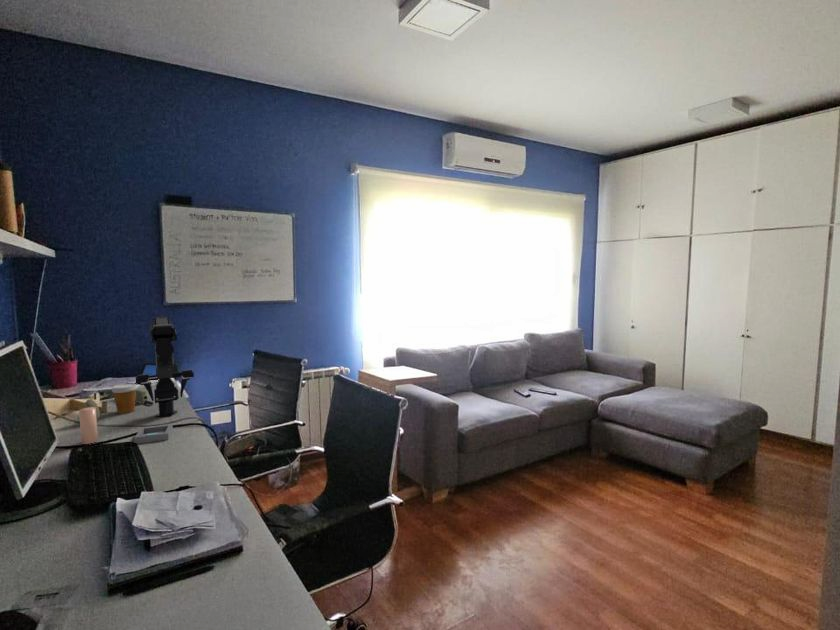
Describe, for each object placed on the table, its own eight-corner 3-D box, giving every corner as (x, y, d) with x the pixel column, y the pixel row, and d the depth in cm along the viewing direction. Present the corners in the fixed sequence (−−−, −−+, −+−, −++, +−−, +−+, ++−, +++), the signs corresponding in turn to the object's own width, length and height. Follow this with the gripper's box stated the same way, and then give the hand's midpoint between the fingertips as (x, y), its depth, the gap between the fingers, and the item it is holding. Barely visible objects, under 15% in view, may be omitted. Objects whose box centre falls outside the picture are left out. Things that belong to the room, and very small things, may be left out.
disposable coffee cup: (141, 411, 190) (139, 385, 189) (116, 416, 183) (114, 389, 182) (135, 407, 197) (134, 381, 196) (110, 411, 190) (109, 385, 189)
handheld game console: (125, 384, 240) (124, 368, 239) (144, 378, 253) (143, 363, 252) (150, 385, 237) (149, 368, 236) (167, 379, 250) (166, 364, 249)
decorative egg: (95, 419, 179) (93, 396, 178) (103, 421, 177) (101, 398, 176) (79, 424, 174) (77, 400, 173) (87, 426, 171) (85, 402, 171)
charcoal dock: (141, 433, 163) (140, 427, 163) (172, 430, 167) (172, 423, 167) (134, 443, 153) (134, 436, 153) (168, 439, 158) (168, 432, 157)
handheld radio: (130, 397, 213) (156, 405, 200) (123, 399, 211) (148, 407, 198) (129, 384, 213) (154, 391, 199) (121, 386, 210) (147, 393, 197)
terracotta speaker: (87, 440, 157) (84, 407, 156) (101, 439, 158) (98, 406, 157) (78, 445, 152) (75, 411, 151) (92, 444, 153) (90, 411, 152)
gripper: (132, 360, 149) (135, 405, 148) (192, 355, 158) (195, 397, 157) (136, 360, 159) (138, 402, 158) (192, 355, 168) (194, 394, 167)
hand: (167, 399), depth 160 cm, fingers open, 9 cm apart
